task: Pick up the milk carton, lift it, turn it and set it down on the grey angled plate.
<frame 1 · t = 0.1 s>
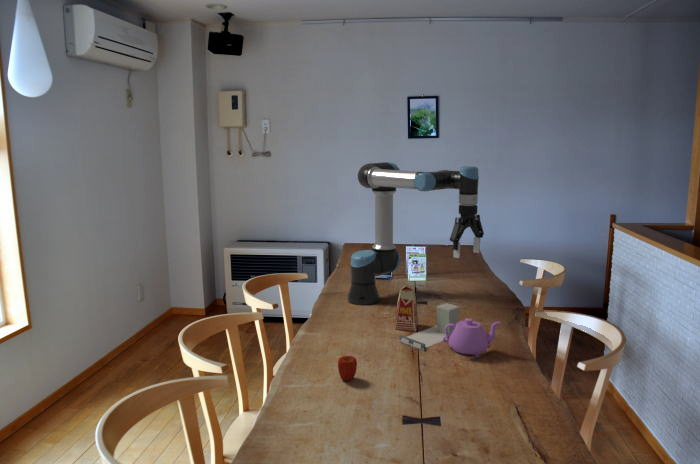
hand: (466, 255, 224), 28 cm above the table, fingers open, 13 cm apart
apple: (347, 379, 174), on the table
teapot: (470, 352, 194), on the table
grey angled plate: (432, 338, 208), on the table
milk carton: (406, 329, 218), on the table
tea tin: (447, 331, 212), point 1 cm above the table, touching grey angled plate
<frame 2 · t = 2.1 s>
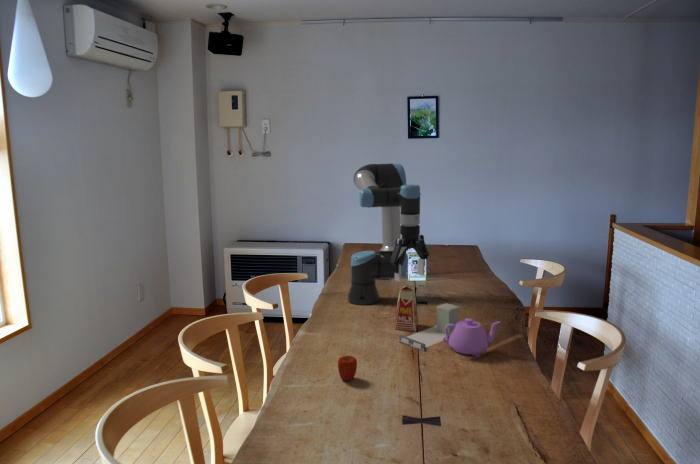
hand: (409, 277, 212), 22 cm above the table, fingers open, 13 cm apart
nothing on the table moved.
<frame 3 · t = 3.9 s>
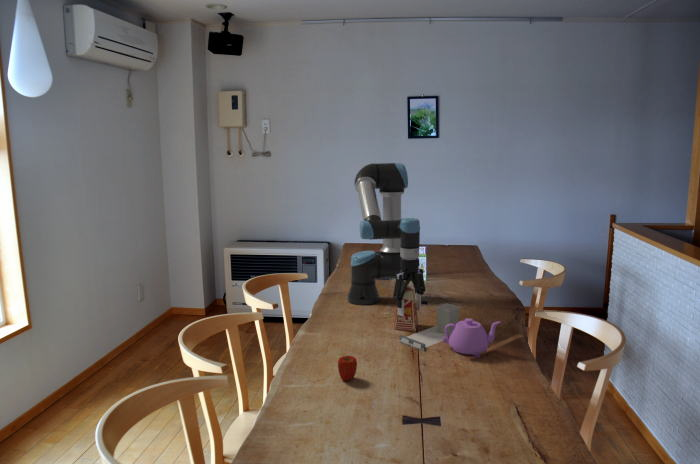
hand: (409, 312, 215), 8 cm above the table, fingers closed on milk carton, 9 cm apart
milk carton: (406, 329, 218), on the table, touching gripper
everything else where it was.
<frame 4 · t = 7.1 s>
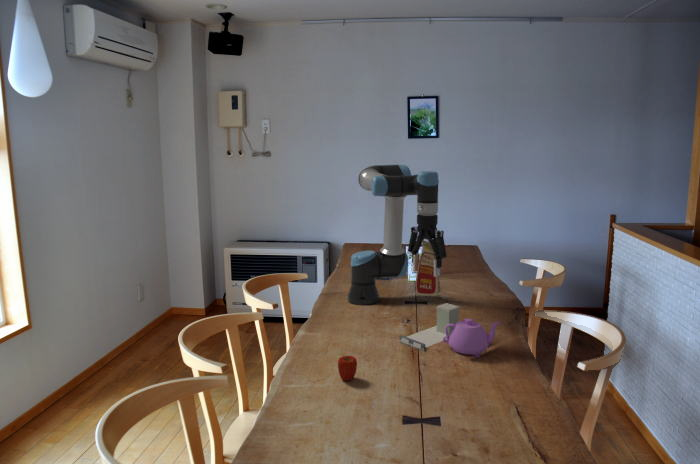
hand: (426, 273, 200), 27 cm above the table, fingers closed on milk carton, 9 cm apart
milk carton: (428, 292, 203), point 19 cm above the table, touching gripper
everything else where it was.
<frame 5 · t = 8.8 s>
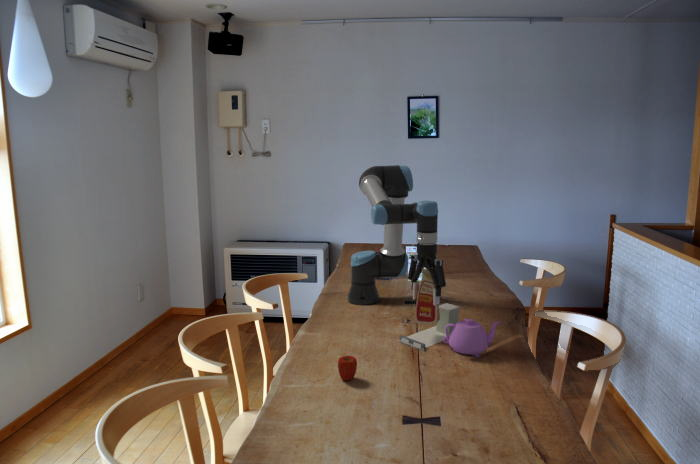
hand: (425, 301, 202), 16 cm above the table, fingers closed on milk carton, 9 cm apart
milk carton: (428, 320, 205), point 8 cm above the table, touching gripper
everything else where it was.
when the fingers open (10 cm above the table, at t = 10.5 s): milk carton drops 1 cm, resting on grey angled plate.
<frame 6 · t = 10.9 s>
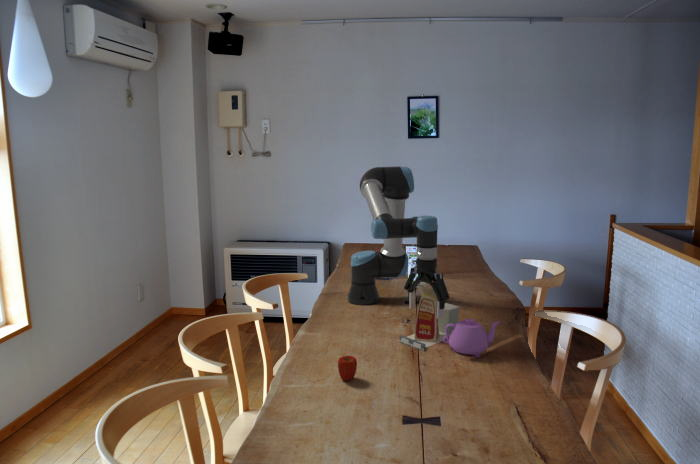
hand: (425, 312, 203), 11 cm above the table, fingers open, 13 cm apart
milk carton: (427, 337, 206), point 1 cm above the table, touching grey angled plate
everything else where it was.
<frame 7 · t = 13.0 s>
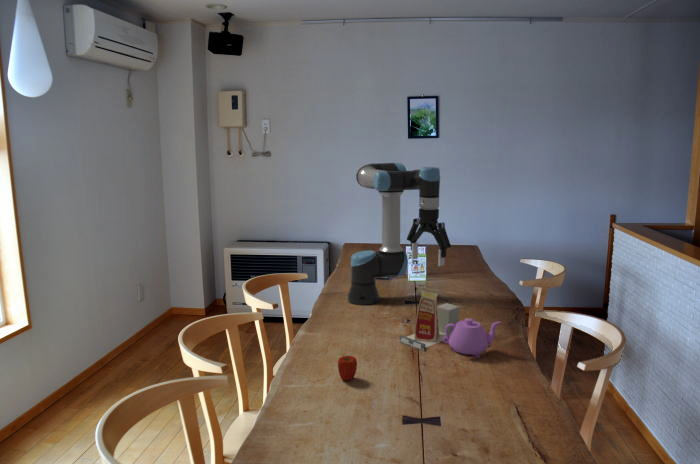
hand: (427, 262, 209), 29 cm above the table, fingers open, 13 cm apart
nothing on the table moved.
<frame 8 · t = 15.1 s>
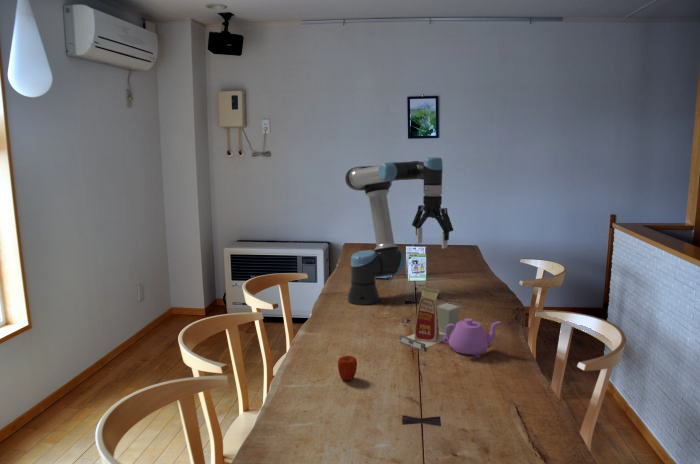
hand: (431, 245, 226), 32 cm above the table, fingers open, 13 cm apart
nothing on the table moved.
at the end: milk carton inside the target area (1.7 cm from its centre), point 1.0 cm above the table; milk carton tilted 0°; the gripper is holding nothing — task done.
